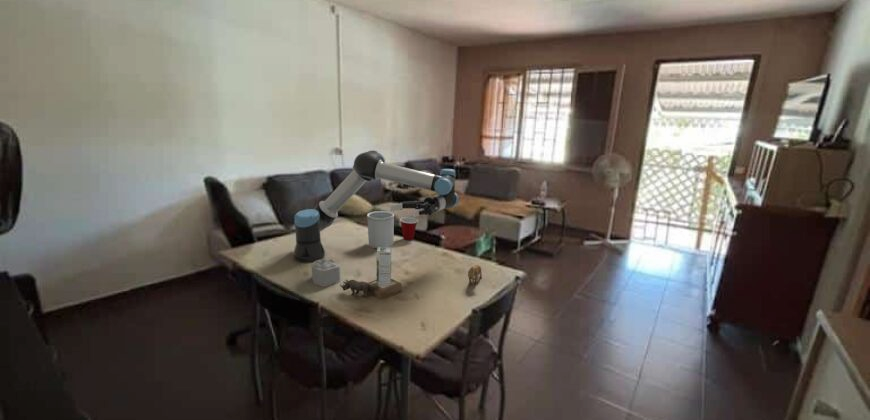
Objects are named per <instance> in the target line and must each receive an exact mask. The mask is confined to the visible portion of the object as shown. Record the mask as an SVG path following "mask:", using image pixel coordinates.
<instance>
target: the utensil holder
mask: <svg viewBox="0 0 870 420" xmlns="http://www.w3.org/2000/svg"><path fill="white" fill-rule="evenodd" d="M366 219H367V236H368V245H369V247H370V248H372V249H373V248H374V249H378V247H391V248H392V246H393V245H394V229H395V228H394V227H395V226H394V223H395V214H394V213H393V212H391V211H385V210H384V211H383V210H381V211H380V210H379V211H372V212H371V211H370V212H368V213H367V214H366Z"/></svg>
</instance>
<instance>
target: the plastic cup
mask: <svg viewBox="0 0 870 420" xmlns="http://www.w3.org/2000/svg"><path fill="white" fill-rule="evenodd" d="M399 221H400V222H399V223H400V225H401V232H402V237H403V240H404V241H413V240H414V237H415V233H416V228H417V224H418V222H419V219H417V218H416V217H405V216H404V217H401V218H399Z"/></svg>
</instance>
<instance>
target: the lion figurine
mask: <svg viewBox="0 0 870 420" xmlns="http://www.w3.org/2000/svg"><path fill="white" fill-rule="evenodd" d="M467 272H468V273H467V277H468V283H467V284H468V285H469V286H470V285H472V281H474V282H473V284H474V286H477V285H478V284H477V283H478V278H479V277H480V278H479V279H482V278H483V277H482V275H483V274H482V267H481V266H480V265H479V264H476V265H474V266H472V267H470V268H469V269H468V271H467Z"/></svg>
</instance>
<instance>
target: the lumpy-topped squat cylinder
mask: <svg viewBox="0 0 870 420" xmlns="http://www.w3.org/2000/svg"><path fill="white" fill-rule="evenodd" d="M312 262H313V263H312ZM312 262H311V274H312V275H311V277H312V283H313V284H315V285H317V286H320V287H329V286H332V285H335V284H339V283H340V282H341V278H342V277H341V265H340V263H338V262H337V261H336V260H335V259H334V258H331V259H327V258H325V257H324V258H322V259H320V260H317V261H312Z"/></svg>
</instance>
